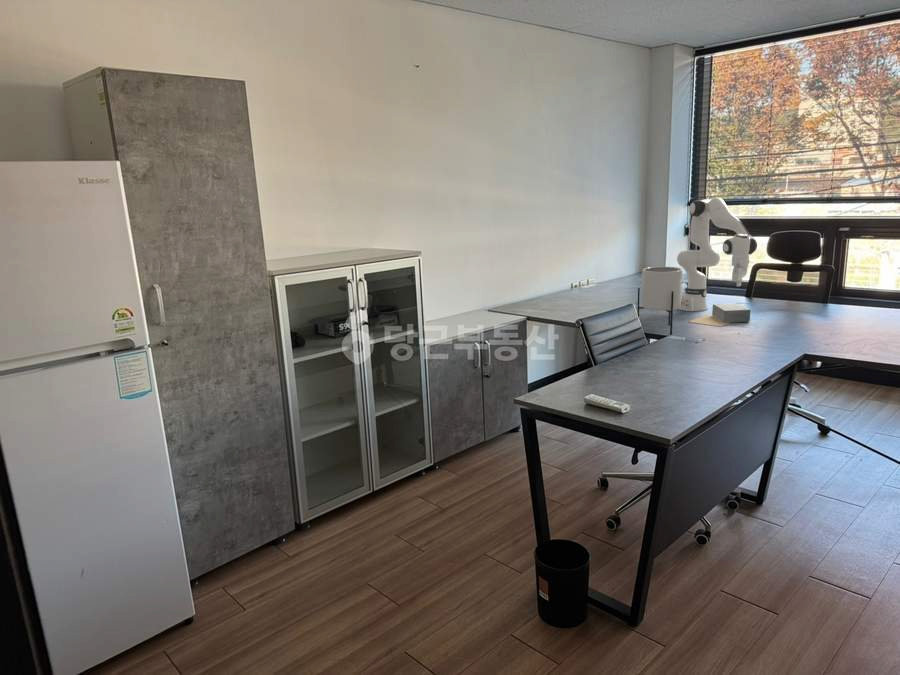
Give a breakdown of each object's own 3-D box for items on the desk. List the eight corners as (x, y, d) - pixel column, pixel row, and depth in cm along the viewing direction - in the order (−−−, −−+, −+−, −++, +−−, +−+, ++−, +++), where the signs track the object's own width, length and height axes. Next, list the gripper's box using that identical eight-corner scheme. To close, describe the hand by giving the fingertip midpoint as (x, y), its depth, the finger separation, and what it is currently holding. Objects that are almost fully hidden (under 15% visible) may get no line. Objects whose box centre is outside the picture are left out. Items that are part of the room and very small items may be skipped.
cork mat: (688, 322, 372) (688, 321, 371) (706, 315, 385) (706, 315, 385) (720, 326, 357) (720, 326, 357) (738, 319, 370) (738, 319, 370)
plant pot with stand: (680, 334, 344) (683, 272, 336) (636, 333, 352) (637, 272, 343) (679, 325, 366) (681, 266, 357) (637, 324, 374) (639, 266, 365)
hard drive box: (749, 322, 363) (737, 314, 382) (750, 309, 361) (738, 302, 380) (722, 322, 364) (711, 315, 383) (723, 310, 362) (712, 303, 381)
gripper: (741, 265, 342) (740, 289, 345) (749, 260, 357) (748, 283, 361) (729, 265, 345) (728, 289, 349) (738, 259, 361) (736, 282, 365)
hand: (738, 286), depth 355 cm, fingers closed
